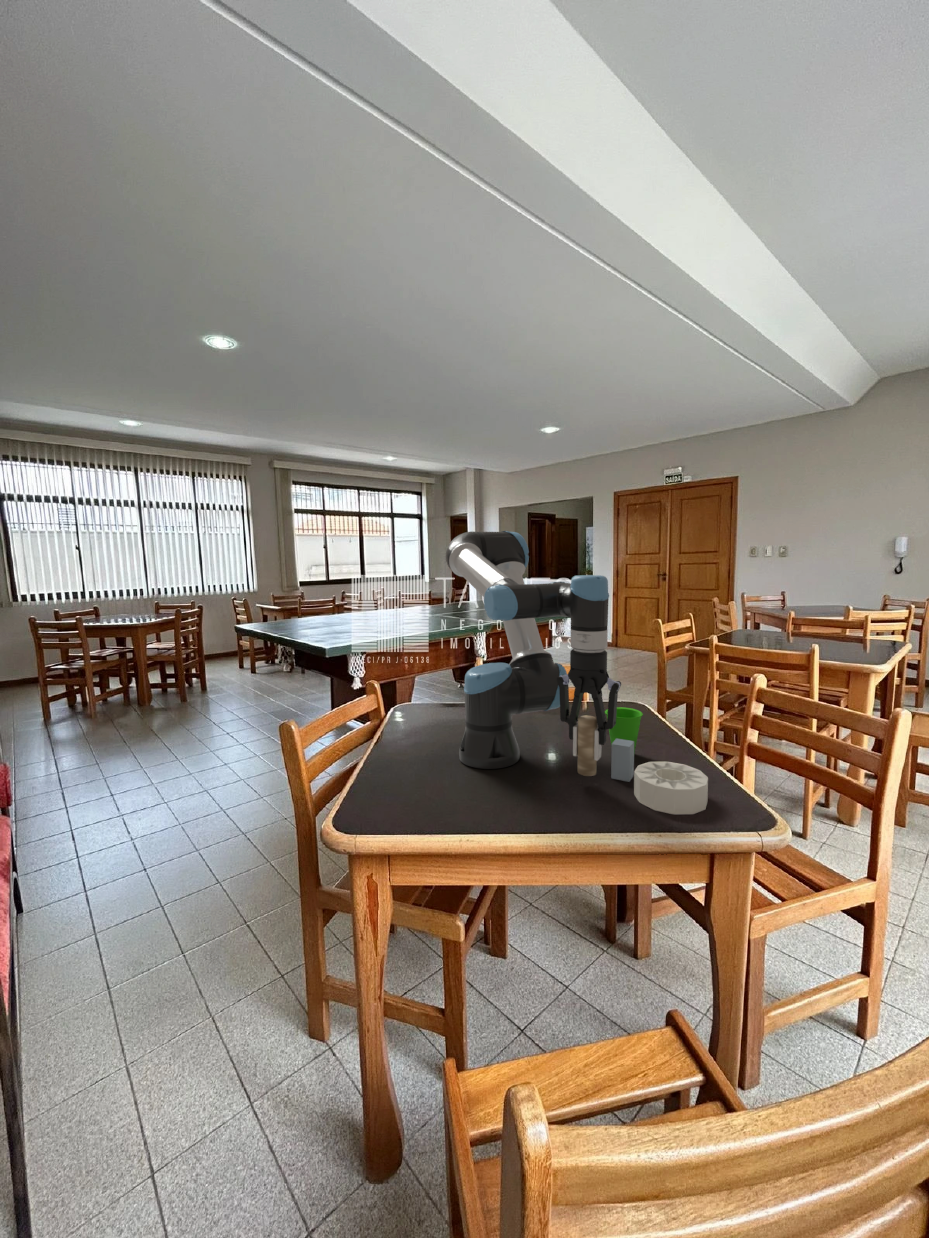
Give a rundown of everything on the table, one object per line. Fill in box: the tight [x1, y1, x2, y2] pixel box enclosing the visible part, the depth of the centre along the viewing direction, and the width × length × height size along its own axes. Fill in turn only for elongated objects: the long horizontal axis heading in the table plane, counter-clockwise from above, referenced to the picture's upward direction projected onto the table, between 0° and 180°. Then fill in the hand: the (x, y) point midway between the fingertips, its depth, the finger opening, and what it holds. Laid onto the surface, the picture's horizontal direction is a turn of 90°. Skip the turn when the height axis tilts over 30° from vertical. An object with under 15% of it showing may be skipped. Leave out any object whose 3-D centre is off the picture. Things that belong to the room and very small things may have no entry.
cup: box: [605, 706, 644, 755], centre depth 125 cm, size 9×9×11 cm
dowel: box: [577, 715, 598, 777], centre depth 108 cm, size 4×4×12 cm
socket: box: [633, 761, 709, 815], centre depth 102 cm, size 14×14×5 cm
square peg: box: [610, 738, 635, 783], centre depth 113 cm, size 4×4×8 cm
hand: (587, 755), depth 108 cm, fingers closed on dowel, 4 cm apart
